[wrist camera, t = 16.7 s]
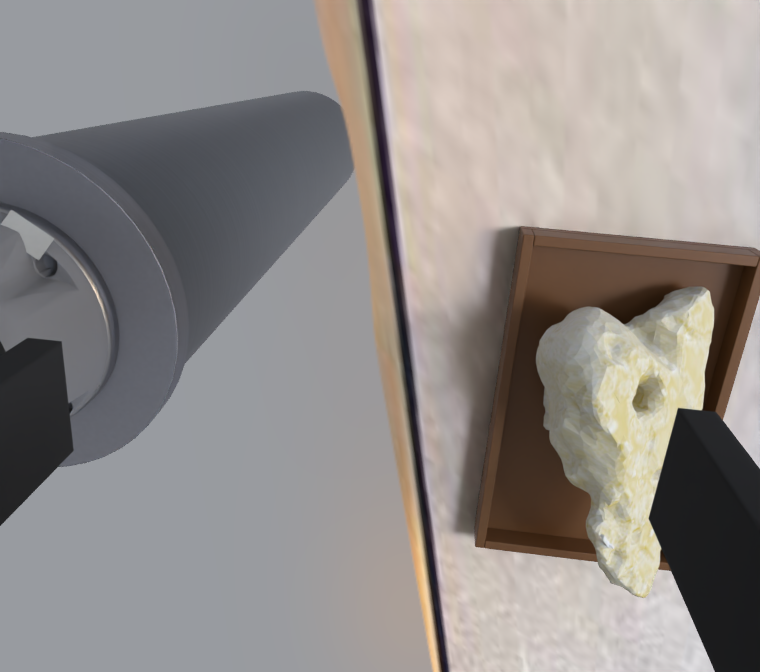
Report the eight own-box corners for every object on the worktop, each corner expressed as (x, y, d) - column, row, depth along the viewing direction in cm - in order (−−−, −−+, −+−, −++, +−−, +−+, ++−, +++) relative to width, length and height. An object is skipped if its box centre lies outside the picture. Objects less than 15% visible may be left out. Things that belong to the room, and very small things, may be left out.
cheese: (571, 224, 40) (428, 424, 36) (690, 226, 35) (540, 464, 30) (654, 383, 49) (547, 563, 44) (762, 406, 43) (653, 616, 38)
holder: (474, 527, 47) (475, 547, 45) (519, 225, 39) (523, 234, 37) (668, 550, 46) (677, 572, 45) (755, 247, 39) (771, 257, 37)
